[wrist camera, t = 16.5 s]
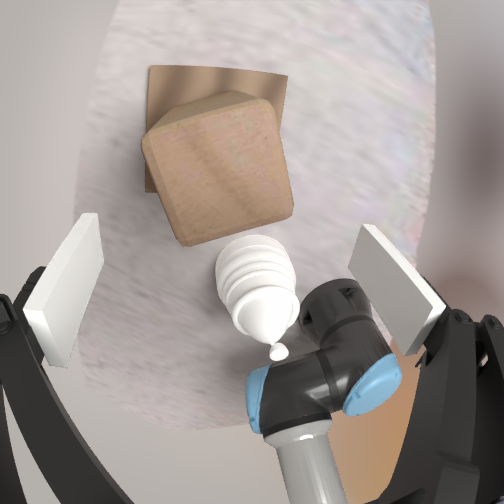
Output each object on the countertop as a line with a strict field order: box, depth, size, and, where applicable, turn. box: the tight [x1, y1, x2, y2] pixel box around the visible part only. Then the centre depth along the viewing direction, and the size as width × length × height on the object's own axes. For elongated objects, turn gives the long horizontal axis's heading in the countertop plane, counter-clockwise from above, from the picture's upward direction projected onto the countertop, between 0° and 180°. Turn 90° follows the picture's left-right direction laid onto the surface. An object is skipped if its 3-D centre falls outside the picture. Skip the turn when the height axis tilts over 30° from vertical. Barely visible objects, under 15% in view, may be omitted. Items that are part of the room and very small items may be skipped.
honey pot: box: [215, 235, 300, 361], centre depth 45 cm, size 13×13×18 cm
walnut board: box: [145, 65, 288, 192], centre depth 39 cm, size 18×18×2 cm
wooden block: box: [141, 90, 294, 246], centre depth 30 cm, size 10×10×20 cm
